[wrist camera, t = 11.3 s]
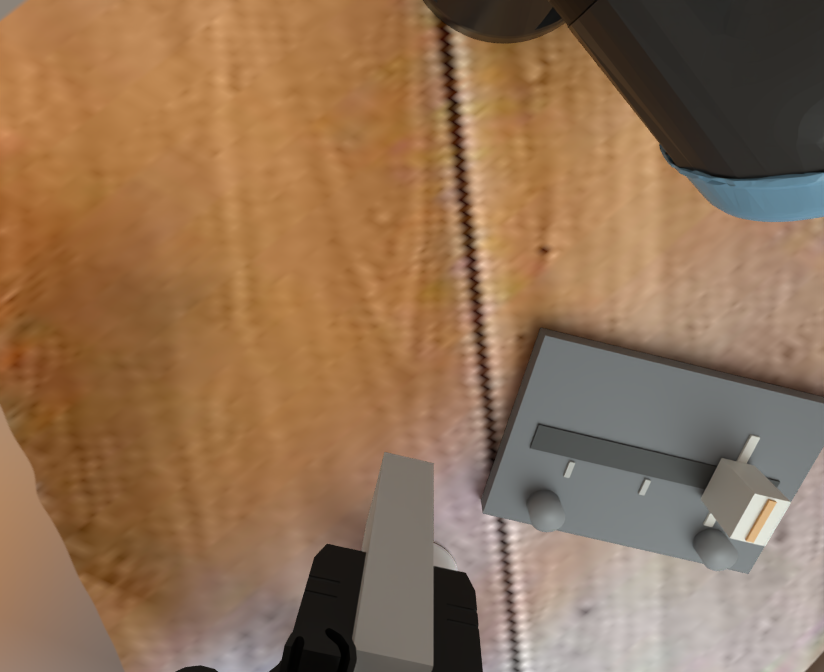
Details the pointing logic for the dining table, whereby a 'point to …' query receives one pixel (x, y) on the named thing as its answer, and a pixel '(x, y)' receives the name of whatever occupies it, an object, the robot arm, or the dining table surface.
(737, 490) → the fader tab
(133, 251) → the dining table surface
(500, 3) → the robot arm
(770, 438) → the console board
